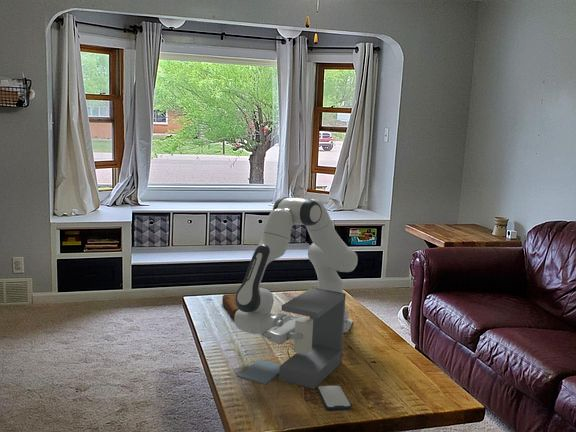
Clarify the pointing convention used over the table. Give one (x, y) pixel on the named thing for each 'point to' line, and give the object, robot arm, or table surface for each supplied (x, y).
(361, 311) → the table surface
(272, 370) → the mat
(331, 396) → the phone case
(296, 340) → the block
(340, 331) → the grey c-shaped bracket
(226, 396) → the table surface
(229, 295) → the diary
